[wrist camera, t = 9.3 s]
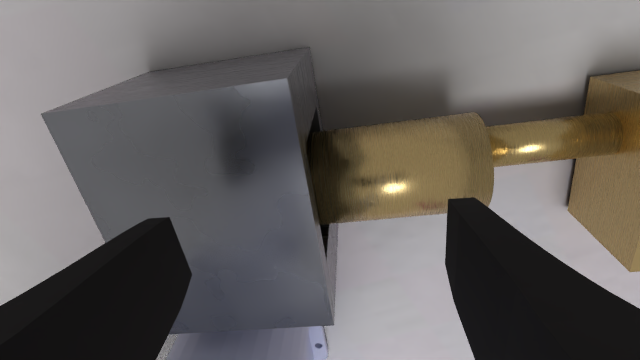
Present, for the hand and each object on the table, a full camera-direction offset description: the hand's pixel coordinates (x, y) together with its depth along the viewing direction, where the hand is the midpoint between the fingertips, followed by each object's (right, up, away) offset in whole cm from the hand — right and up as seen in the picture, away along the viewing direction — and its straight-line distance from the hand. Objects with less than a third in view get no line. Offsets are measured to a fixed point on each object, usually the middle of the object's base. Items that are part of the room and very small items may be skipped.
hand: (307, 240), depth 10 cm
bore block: (-3, +3, +10) cm, 11 cm away
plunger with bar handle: (+8, +3, +9) cm, 12 cm away
